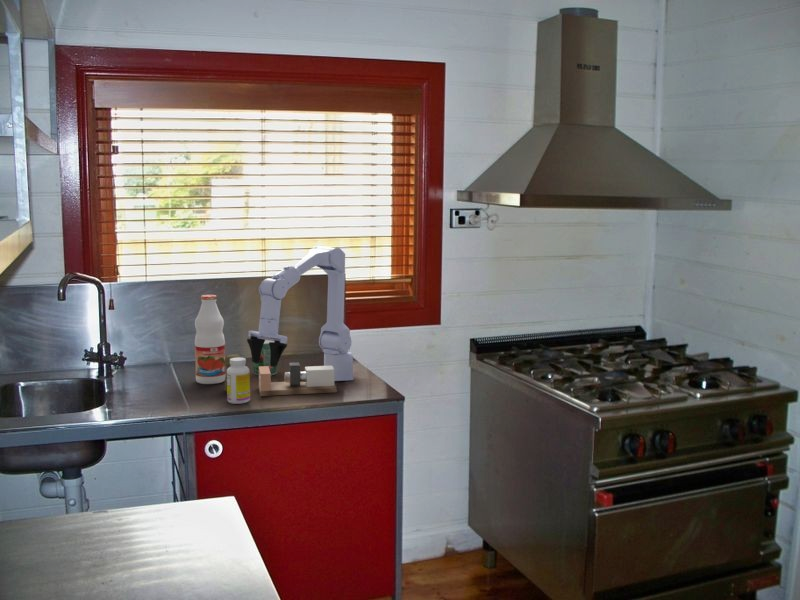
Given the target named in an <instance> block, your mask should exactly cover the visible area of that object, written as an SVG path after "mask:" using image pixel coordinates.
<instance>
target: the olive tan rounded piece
mask: <svg viewBox="0 0 800 600" xmlns="http://www.w3.org/2000/svg"><path fill="white" fill-rule="evenodd" d="M237 357H240V358H242V356H241V355H239V354H233V353H232V354H228V355H225V366H226V367H225V381H224V385H223V386H224V387H223V390H224V391H225V392H227V369H228V368H229V367H231V365H230V359H231V358H237Z"/></svg>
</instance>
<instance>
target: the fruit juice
mask: <svg viewBox="0 0 800 600" xmlns="http://www.w3.org/2000/svg"><path fill="white" fill-rule="evenodd" d="M217 299H218V297H217V295H215V294H202V295H201V296H200V301H201V305H200V308H199V310H198V313H197V316H196V318H195V319H194V327H195V331H196V332H195V337H194V356H195V360H194V361H195V362H194V363H195V365H194V366H195V381H196V383H198V384H201V385H215V384H220V383H223V382H225V377H226V364H225V358H226V341H225V339H226V338H225V335H224V332H223V329H224V325H225V321H224V318H223V316H222V314H221V313H220V310H219V307H218V305H217V303H216V302H217Z"/></svg>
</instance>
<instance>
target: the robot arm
mask: <svg viewBox="0 0 800 600" xmlns="http://www.w3.org/2000/svg"><path fill="white" fill-rule="evenodd" d="M315 267H317V268H320V269H321V270H323V272H325V273H326V275H327V278H328V279H327V304H326V305H327V306H326V307H327V308H326V310H327V311H326V323H325V324H323V326H321V328H320V335H319V336H318V345H319V347H320V348H321V349H322V352H323V353H324V354H323V356H324V357H323V366H333V368H334V382H342V381H344V382H345V381H354V358H353V357H354V355H353V352H352V351H349V350H350V349H351V347H352V337H351V330H350V328H349V327H348V326H347V325H346V324H345V323H344V318H345V316H344V315H345V312H344V311H345V288H346V287H345V286H346V284H345V283H346V253H345V252H344V251H343V250H342V248H341V247H337V246H336V247H329V246H321V245H315V246H313V247H312V248H310V249H309V250H308V253H307V254H306V255H305V256H304V257H302V258H301V259H300V260H299V261H298V262H297V263H296V264H295V265H285V266H283V267H282V268H283V269H282V270H280V271H279V272H277V273H275V274H273V276H272V277H271V278H269V277H268V278H265V279H263V280H262V281H261V282H260V284H259V286H258V293H259V295H260V298H259V299H260V300H259V301H260V302H261V305H260V314H259V322H258V331H256V330H248V335H247V337H248V338H247V339H246V341H247V345H249V346H248V347H249V348H250V354H251V361H252V363H259V361H260V355H261V350H262V347H263V344H264V342H265V340H269V341H275V342H269V345H270V352H271V357H270V366H277V367H278V364H279V361H280V359H281V356H282V354H283V353H284V351H285V349H286V348H287V347H288V344H287V343H288V336H285V335H280V334H278V333H279V324H280V316H281V315H280V314H281V305H282V299H284V298H285V297H286V295H287V292H288V291H289V289H290V288H292V287H294V285H296V284H297V283H299V282H300V279H301V276H302V275H304V274H305V273H307V272H308V271H310V270H311V269H313V268H315Z"/></svg>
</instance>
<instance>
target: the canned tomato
mask: <svg viewBox="0 0 800 600" xmlns="http://www.w3.org/2000/svg"><path fill="white" fill-rule="evenodd" d="M269 342H275V341H269V340H265V342H264V344H263V347H262V350H261V355H260V361H259V363H253V362H252V363H253V374H254V375H256V376H259V366H269V370H270V373H271V376H273V375H274V376H275V375H276V374H277V373H278V365H277V366H270V357H271V352H270V345H269Z"/></svg>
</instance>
